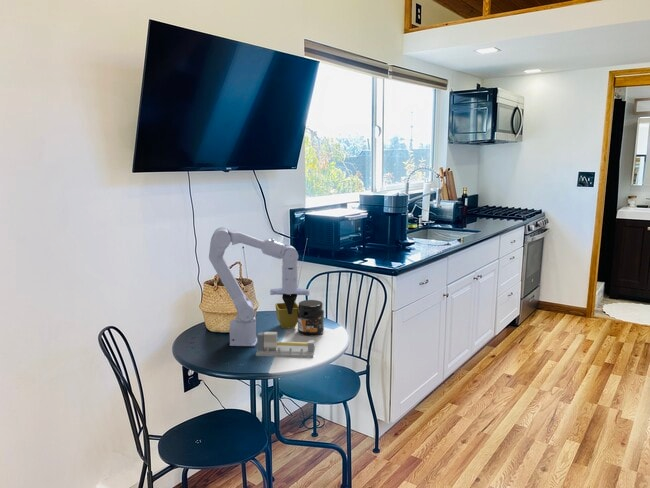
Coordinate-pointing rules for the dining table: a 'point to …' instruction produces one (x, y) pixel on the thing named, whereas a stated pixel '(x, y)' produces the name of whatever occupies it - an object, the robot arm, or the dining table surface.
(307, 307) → the supplement container
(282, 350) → the slider rail
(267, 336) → the sleeve
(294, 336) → the dining table surface
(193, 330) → the dining table surface
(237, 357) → the dining table surface
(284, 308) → the flower pot
